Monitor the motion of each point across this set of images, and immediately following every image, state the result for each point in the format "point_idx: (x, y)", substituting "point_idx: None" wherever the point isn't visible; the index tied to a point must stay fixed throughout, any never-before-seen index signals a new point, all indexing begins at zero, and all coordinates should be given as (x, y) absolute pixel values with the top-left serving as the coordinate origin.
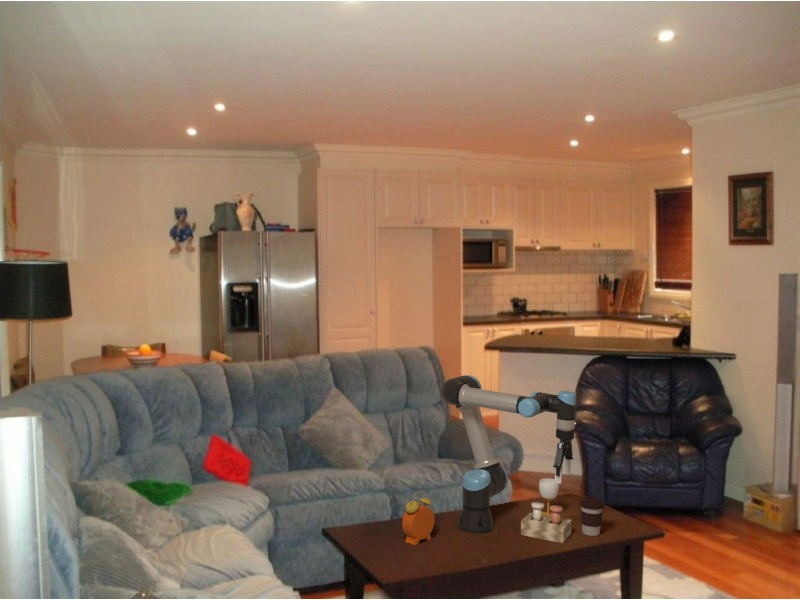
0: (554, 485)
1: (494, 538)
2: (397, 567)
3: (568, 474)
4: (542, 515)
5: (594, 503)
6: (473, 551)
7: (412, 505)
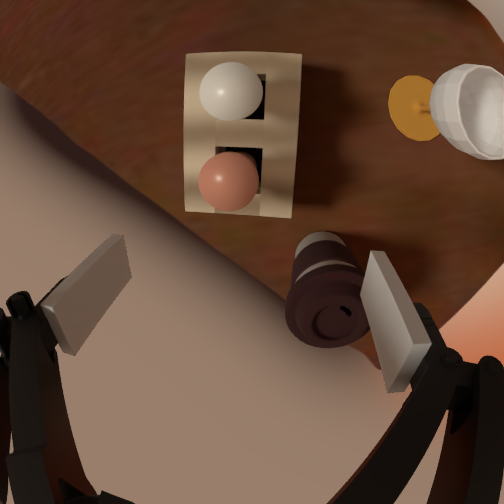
0: (463, 140)
1: (137, 19)
2: None
3: (363, 290)
4: (288, 104)
5: (301, 330)
6: (50, 36)
7: None
